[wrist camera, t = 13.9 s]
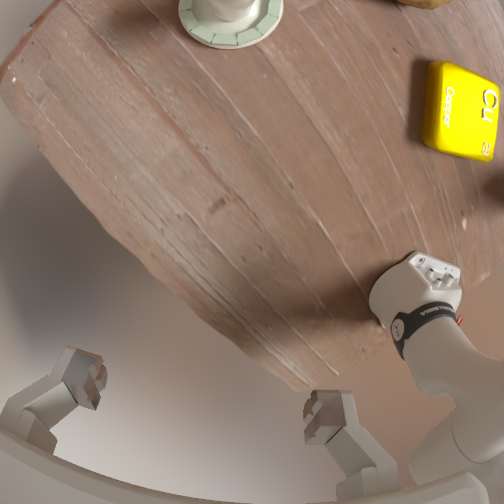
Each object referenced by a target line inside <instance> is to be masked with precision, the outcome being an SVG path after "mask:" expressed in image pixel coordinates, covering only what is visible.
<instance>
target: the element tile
mask: <svg viewBox="0 0 504 504" xmlns="http://www.w3.org/2000/svg"><path fill="white" fill-rule="evenodd" d="M499 109H500V89H499V87H498V86H497V84H496V83H495V82H493V81H491V80H489V79H487V78H485V77H483V76H481V75H479V74H477V73H475V72H472V71H470V70H468V69H466V68H464V67H461V66H459V65H457V64H454V63H452V62H449V61H434V62H430V63H429V64H428V66H427V72H426V91H425V104H424V115H423V124H422V132H421V134H422V141H423V142H424V144H425V145H427V146H428V147H431V148H433V149H435V150H438V151H440V152H443V153H447V154H452V155H456V156H460V157H464V158H468V159H472V160H476V161H480V162H484V163H487V162H490V161H491V159H492V157H493V154H494V149H495V143H496V136H497V128H498V119H499Z"/></svg>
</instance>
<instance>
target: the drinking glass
mask: <svg viewBox="0 0 504 504" xmlns="http://www.w3.org/2000/svg"><path fill="white" fill-rule="evenodd" d="M206 1H207V2H208V4H209V5H210V6H211V7H212V9H213V11H214V13H215V14H216V15H217V16H218V17H219V18H221V19H223V20H226V21H238V20H241V19H243V18H245V17H246V16H248V15H249V14H250V12H251V11H252V8H253V4H254V2H255V0H206Z"/></svg>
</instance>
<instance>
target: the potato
mask: <svg viewBox="0 0 504 504" xmlns="http://www.w3.org/2000/svg"><path fill="white" fill-rule="evenodd" d="M397 1H399V2H401V3H404V4H407V5H409V6H413V7H416V8H420V9H428V10H433V9H435V8H438V7H440V6H443V5H445V4H448V3H450V2H451V1H452V0H397Z"/></svg>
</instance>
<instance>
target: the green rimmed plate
mask: <svg viewBox="0 0 504 504" xmlns="http://www.w3.org/2000/svg"><path fill="white" fill-rule="evenodd" d="M282 12H283V0H255V2H254V4H253V8H252V11H251V12H250V14H249V15H248V16H246V17H245V18H243V19H241V20H238V21H226V20H223V19H221V18H219V17H218V16H217V15H216V14H215V13H214V11H213V9H212V7H211V6H210V5H209V4H208V2H207V1H206V0H180V2H179V17H180V20H181V23H182V25H183V27H184V28H185V30H186V31H187V32H188V33H189V34H190V35H191V36H192V37H193V38H194V39H196V40H197V41H199V42H200V43H202V44H205V45H207V46H210V47H214V48H218V49H239V48H244V47H248V46H251V45H253V44H256V43H258V42H259V41H261V40H263V39H264V38H266V37H267V36H268V35H269V34H270V33H271V32H272V31H273V30H274V29H275V28H276V26H277V25H278V23H279V21H280V19H281V16H282Z"/></svg>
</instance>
